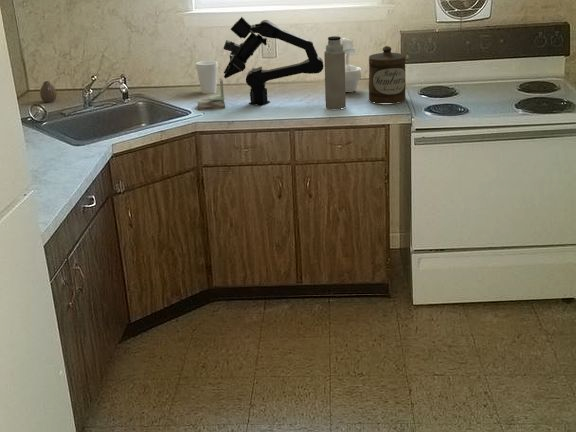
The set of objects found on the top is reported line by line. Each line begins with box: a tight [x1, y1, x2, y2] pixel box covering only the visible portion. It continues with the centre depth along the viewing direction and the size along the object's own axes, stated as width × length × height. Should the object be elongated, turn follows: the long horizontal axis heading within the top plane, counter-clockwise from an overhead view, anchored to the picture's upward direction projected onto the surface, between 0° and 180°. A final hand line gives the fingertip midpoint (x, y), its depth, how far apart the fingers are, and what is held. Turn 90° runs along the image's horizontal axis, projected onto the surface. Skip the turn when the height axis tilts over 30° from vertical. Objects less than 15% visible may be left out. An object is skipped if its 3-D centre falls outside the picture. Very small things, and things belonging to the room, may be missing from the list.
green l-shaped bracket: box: [208, 78, 226, 101], centre depth 329 cm, size 6×6×8 cm
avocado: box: [39, 80, 58, 104], centre depth 351 cm, size 7×7×9 cm
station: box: [197, 97, 226, 111], centre depth 331 cm, size 11×8×3 cm
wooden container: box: [368, 45, 407, 104], centre depth 325 cm, size 15×15×22 cm
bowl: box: [197, 97, 212, 104], centre depth 331 cm, size 6×6×2 cm
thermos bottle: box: [323, 35, 347, 110], centre depth 317 cm, size 8×8×28 cm
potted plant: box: [337, 35, 362, 93], centre depth 341 cm, size 13×12×25 cm
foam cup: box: [195, 60, 219, 95], centre depth 354 cm, size 10×9×13 cm
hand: (224, 75), depth 328 cm, fingers open, 8 cm apart
